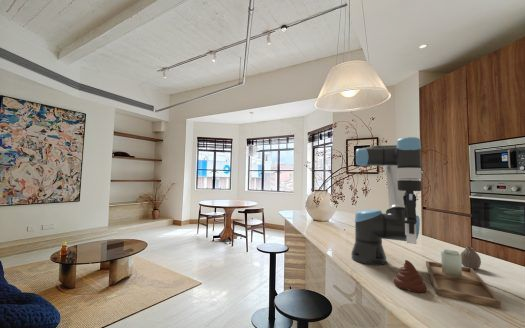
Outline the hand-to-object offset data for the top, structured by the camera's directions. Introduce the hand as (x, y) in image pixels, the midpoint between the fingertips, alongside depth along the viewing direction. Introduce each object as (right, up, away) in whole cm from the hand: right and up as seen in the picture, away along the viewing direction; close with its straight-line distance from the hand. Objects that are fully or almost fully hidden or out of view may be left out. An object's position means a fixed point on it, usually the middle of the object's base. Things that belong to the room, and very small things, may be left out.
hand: (410, 239), depth 85 cm
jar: (+23, -17, +10) cm, 31 cm away
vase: (+39, -19, +19) cm, 47 cm away
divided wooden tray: (+19, -17, +4) cm, 26 cm away
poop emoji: (-1, -17, -1) cm, 17 cm away
